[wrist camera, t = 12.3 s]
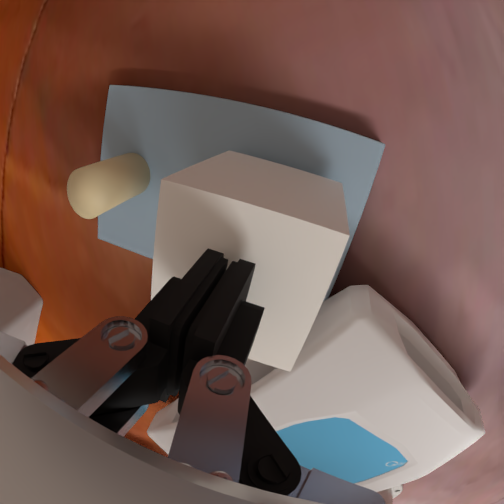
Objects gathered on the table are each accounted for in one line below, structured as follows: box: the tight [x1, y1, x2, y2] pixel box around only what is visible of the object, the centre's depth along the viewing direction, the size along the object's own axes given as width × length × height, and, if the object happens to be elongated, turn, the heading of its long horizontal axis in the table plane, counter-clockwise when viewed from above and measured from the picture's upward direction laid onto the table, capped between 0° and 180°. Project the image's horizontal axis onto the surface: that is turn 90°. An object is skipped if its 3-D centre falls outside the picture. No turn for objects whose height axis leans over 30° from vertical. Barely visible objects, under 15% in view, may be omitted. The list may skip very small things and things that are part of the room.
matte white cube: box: [151, 150, 350, 372], centre depth 15 cm, size 6×6×8 cm
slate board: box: [67, 85, 385, 301], centre depth 18 cm, size 12×18×6 cm, turn 77°
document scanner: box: [147, 285, 485, 492], centre depth 25 cm, size 21×28×6 cm
